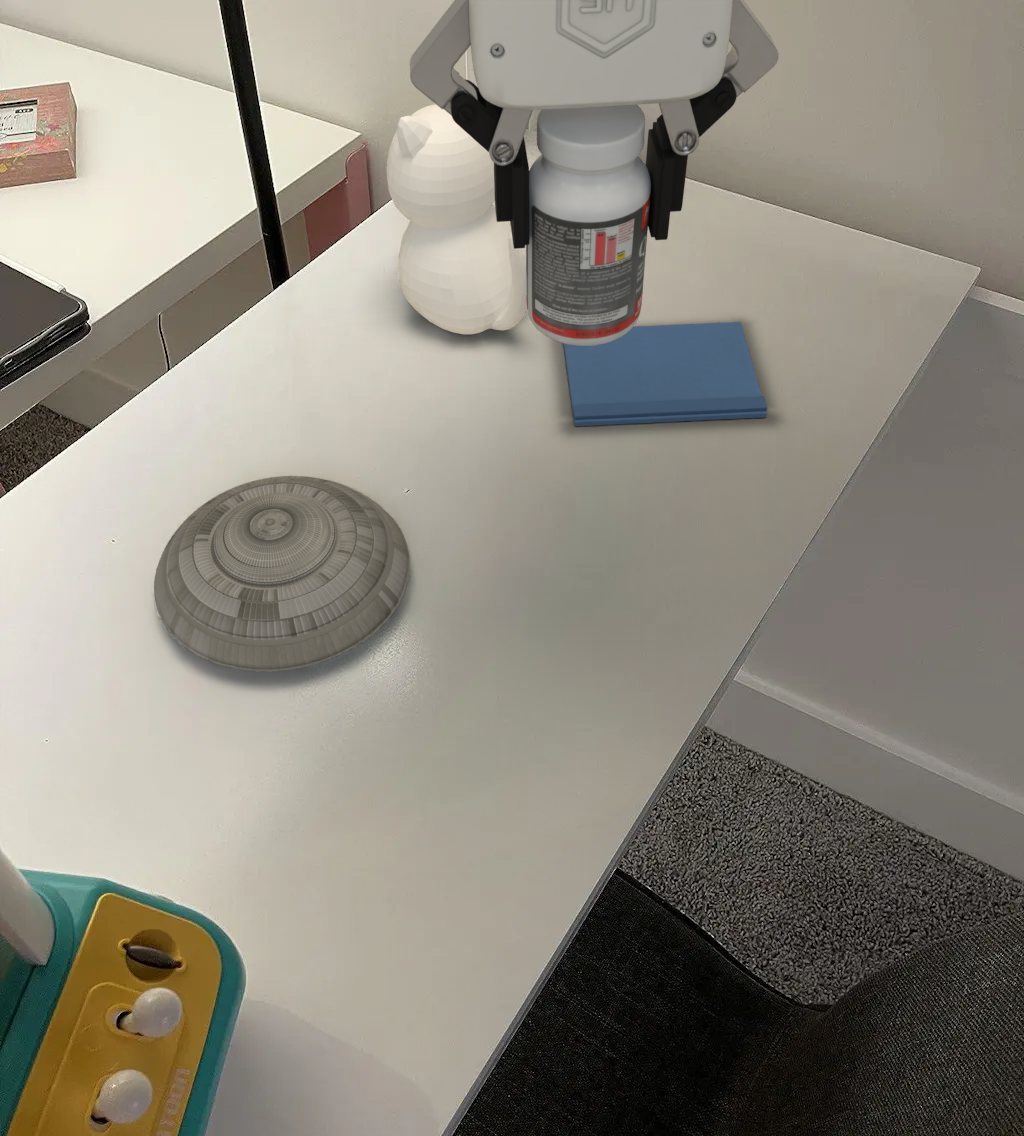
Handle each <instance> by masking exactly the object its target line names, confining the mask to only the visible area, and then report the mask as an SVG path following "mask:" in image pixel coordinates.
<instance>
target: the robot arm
mask: <svg viewBox="0 0 1024 1136" xmlns="http://www.w3.org/2000/svg"><path fill="white" fill-rule="evenodd" d="M729 43H730V44H731V48H730V51H728V50H729ZM469 48H470V54H471V61H472V68H473V69H472V70H473V75H474V79H475V82H476V84H475V83H474V82H472V81H471V80H469V79H465V78H464V77H463V76H461V74H460V72H458V70H456V69H455V68H454V67H455V66H456V64H457V63H458V62H459V60H460V59H461V58H462V57H463V55H464V54H465V53H466V52H467V51H468V49H469ZM778 61H779V52H778V49H777V47H776V44H775V42H774V40H773V37H772V36H771V34H770V33H769V32H768V31H767V29H766V28H765V27H764V25H763V24H762V23H761V21H760V20H759V18H758V17H757V16H756V14H754V12H753V10H752V9H751V8H750V7H749V5H748V3H747V2H746V1H745V0H454V1H452V3H451V4H450V6H449V7H448V8H447V9H446V10H445V11H444V13H443V14H442V16H441V17H440V18H439V19H438V21H437V22H436V24H435V25H434V26H433V28H432V29H431V30H430V31H429V33H428V34H427V36H425V37H424V39H423V41H422V42H421V43H420V44H419V46H418V47H417V48H416V49H415V51H414V52H413V53H412V54H411V57H410V58H409V78H410V82H411V84H412V85H413V87H415V89H416V90H418V91H419V92H421V93H422V94H423V95H424V96H425V97H426V98H428V99H429V100H430V101H431V102H432V103H434V104H436V105H438V106H439V107H440V108H441V109H444V110H445V111H447V112H448V113H449V114H450V115H451V116H452V118H453V120H454V121H455V123H456V124H458V125H459V126H460V127H461V128H462V129H463V130H464V131H465V132H467V133H468V134H469V135H470V136H471V137H472V138H473V139H474V140H476V141H477V142H478V143H479V144H480V145H481V146H482V147H483V148H484V149H486V150H487V151H488V152H489V155H490V158H491V160H492V161H493V162H494V189H495V201H494V206H495V211H496V220H497V222H505V221H509V223H510V224H511V231H512V239H513V246H514V249H518V248H525V245H529V170H530V165H529V160H528V153H527V148H526V141H525V133H526V131H527V128H528V125H529V123H530V120H531V117H532V115H533V112H534V111H537V110H538V111H539V110H540V111H541V110H543V109H565V108H584V107H603V106H620V105H651V104H658V106H659V110H660V113H661V114H660V115H659V116H658V117H657V118H656V121H653V122H652V128H649V129H648V130H647V131H648V132H647V144H646V156H645V165H646V167H647V169H648V172H649V175H650V179H651V197H650V208H649V219H648V231H649V235H650V238H654V240H655V241H666V240H668V239H669V238H668V236H669V228H670V220H671V213H672V212H673V213H674V212H675V213H676V212H681V211H682V209H683V203H684V193H685V185H686V177H687V176H686V175H687V169H688V168H687V167H688V159H689V155H691V154H692V153H694V151H696V150H697V148H698V146H699V144H700V138H701V137H702V136H703V135H704V134H705V133H706V132H707V131H708V130H709V129H710V128H712V127H713V125H714V124H716V123H717V122H718V120H720V119H721V118H722V117H724V115H725V114H726V113H727V112H729V111H730V109H732V107H734V105H735V103H736V101H737V97H739V96H740V95H741V94H742V93H744V94H745V93H746V92H747V91H748V90H749V89H751V88H752V87H753V86H754V85H755V84H756V83H757V82H759V80H761V79H762V78H763V77H764V76H765V75H766V74H767V73H768V72H770V71H771V70H772V69H773V68H774V67H775V66H776V64H777V63H778Z"/></svg>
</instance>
